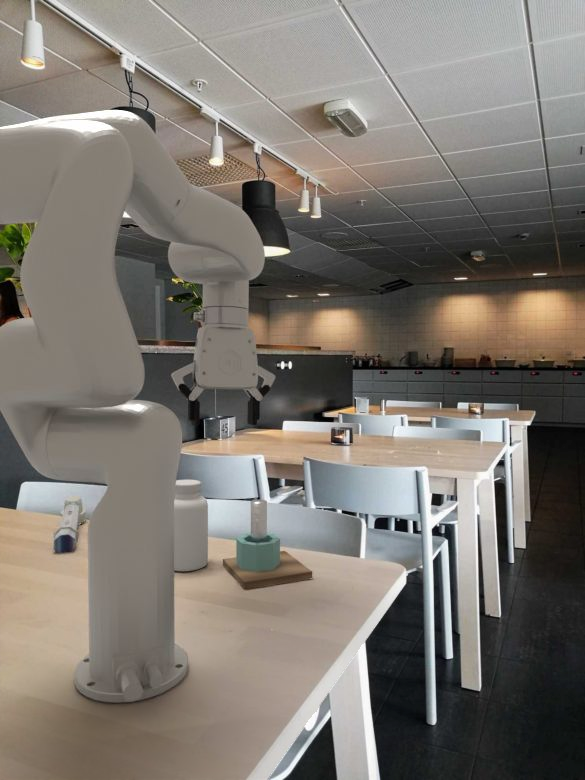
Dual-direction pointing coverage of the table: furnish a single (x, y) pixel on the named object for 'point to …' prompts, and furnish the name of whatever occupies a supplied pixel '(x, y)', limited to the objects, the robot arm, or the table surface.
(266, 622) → the table surface
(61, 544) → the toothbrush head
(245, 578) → the board
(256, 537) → the grey metal peg
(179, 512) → the pill bottle
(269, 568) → the ring
